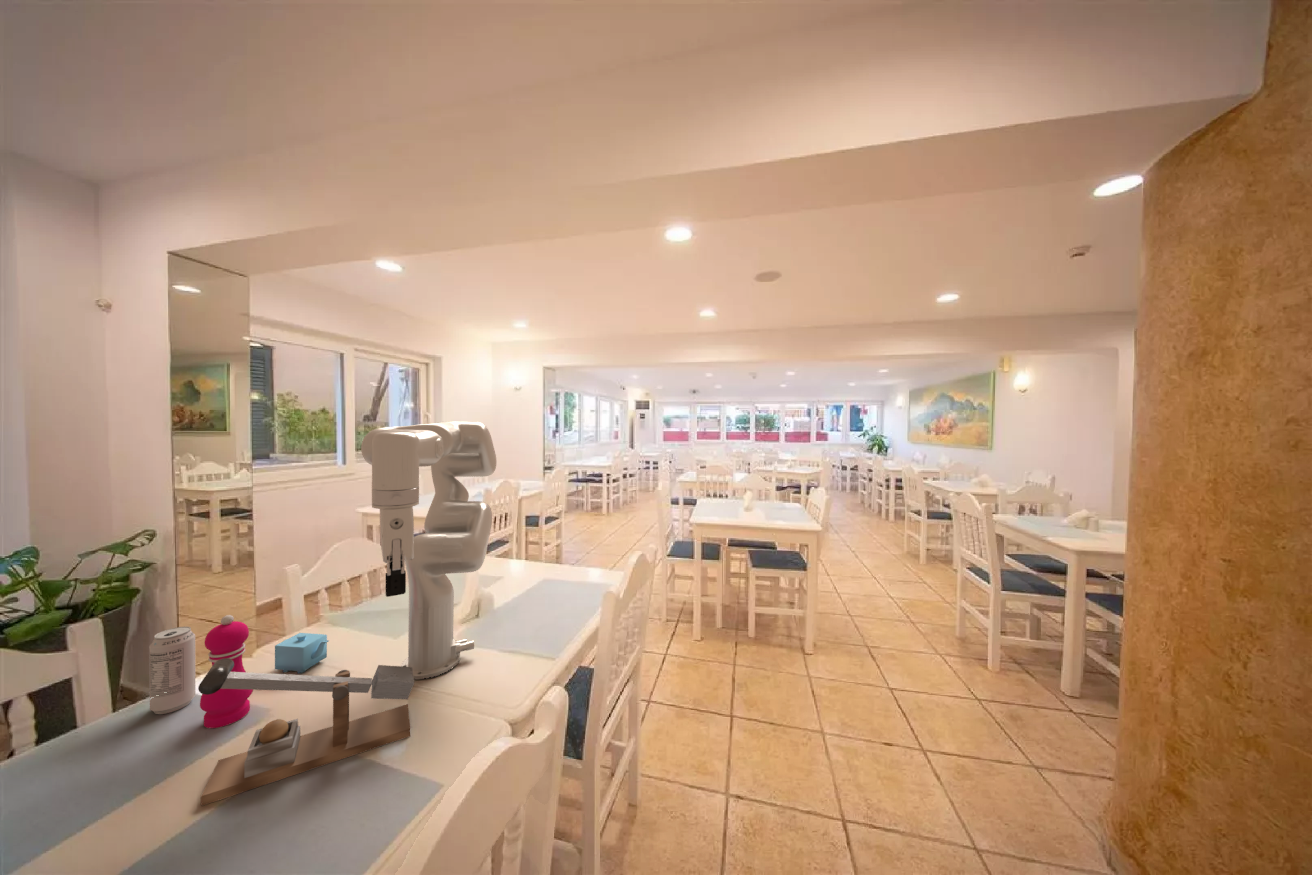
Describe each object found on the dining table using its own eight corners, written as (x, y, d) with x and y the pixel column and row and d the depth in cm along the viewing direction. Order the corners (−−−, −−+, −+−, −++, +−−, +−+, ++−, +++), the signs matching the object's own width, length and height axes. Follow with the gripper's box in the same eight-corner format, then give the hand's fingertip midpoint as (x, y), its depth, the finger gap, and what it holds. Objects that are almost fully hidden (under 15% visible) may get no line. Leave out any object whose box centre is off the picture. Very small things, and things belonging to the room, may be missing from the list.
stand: (408, 711, 84) (408, 651, 84) (410, 736, 77) (410, 671, 77) (218, 768, 69) (218, 696, 69) (201, 805, 63) (200, 726, 62)
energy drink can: (204, 695, 88) (203, 624, 87) (176, 714, 82) (175, 638, 81) (170, 697, 87) (170, 625, 86) (139, 717, 81) (139, 640, 80)
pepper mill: (218, 733, 77) (218, 626, 76) (189, 727, 78) (188, 621, 78) (263, 707, 84) (263, 609, 84) (235, 702, 85) (234, 605, 85)
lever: (405, 683, 83) (412, 667, 83) (407, 699, 78) (414, 682, 78) (208, 674, 67) (217, 655, 68) (194, 694, 62) (204, 673, 63)
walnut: (290, 731, 72) (290, 711, 72) (286, 745, 69) (286, 724, 69) (262, 740, 70) (262, 719, 70) (256, 754, 67) (256, 732, 67)
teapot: (339, 661, 101) (339, 630, 101) (317, 676, 95) (317, 643, 95) (294, 658, 102) (294, 627, 102) (268, 672, 96) (268, 640, 96)
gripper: (422, 502, 74) (421, 604, 75) (416, 490, 87) (415, 577, 87) (370, 506, 70) (370, 614, 71) (372, 492, 83) (372, 584, 83)
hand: (395, 593), depth 79 cm, fingers closed
